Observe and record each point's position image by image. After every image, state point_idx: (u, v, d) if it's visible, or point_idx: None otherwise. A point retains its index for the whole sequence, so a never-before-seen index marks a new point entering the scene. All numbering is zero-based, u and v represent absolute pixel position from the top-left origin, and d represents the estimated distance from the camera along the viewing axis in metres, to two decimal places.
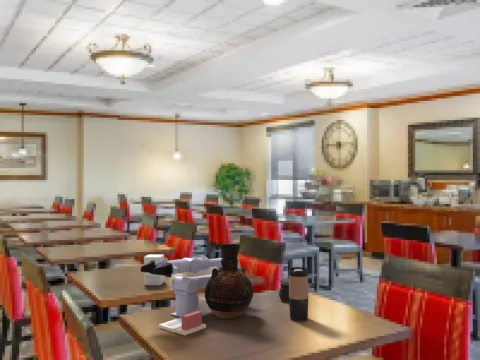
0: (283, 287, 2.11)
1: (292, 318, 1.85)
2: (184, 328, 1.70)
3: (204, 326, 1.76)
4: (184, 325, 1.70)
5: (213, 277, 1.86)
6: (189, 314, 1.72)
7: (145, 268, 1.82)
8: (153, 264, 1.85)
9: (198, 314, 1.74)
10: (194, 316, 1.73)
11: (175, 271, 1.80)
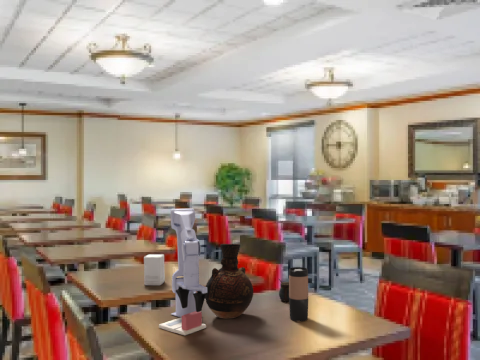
0: (283, 287, 2.11)
1: (292, 318, 1.85)
2: (184, 328, 1.70)
3: (204, 326, 1.76)
4: (184, 325, 1.70)
5: (213, 277, 1.86)
6: (189, 314, 1.72)
7: (184, 302, 1.76)
8: (182, 292, 1.75)
9: (198, 314, 1.74)
10: (194, 316, 1.73)
11: (206, 291, 1.69)
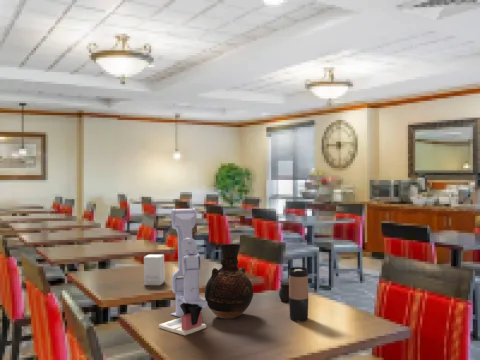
0: (283, 287, 2.11)
1: (292, 318, 1.85)
2: (184, 328, 1.70)
3: (204, 326, 1.76)
4: (184, 325, 1.70)
5: (213, 277, 1.86)
6: (189, 314, 1.72)
7: None
8: (186, 307, 1.73)
9: None
10: None
11: (206, 305, 1.69)
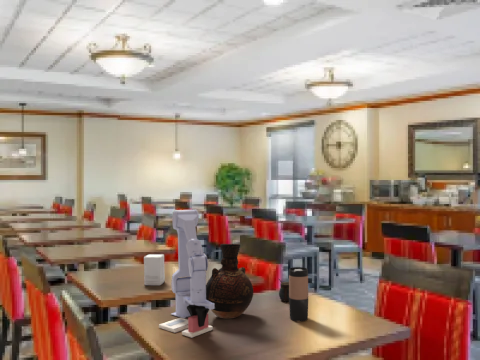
0: (283, 287, 2.11)
1: (292, 318, 1.85)
2: (191, 330, 1.68)
3: (211, 328, 1.73)
4: (191, 327, 1.68)
5: (213, 277, 1.86)
6: (196, 316, 1.70)
7: None
8: (193, 309, 1.71)
9: None
10: None
11: (213, 307, 1.67)
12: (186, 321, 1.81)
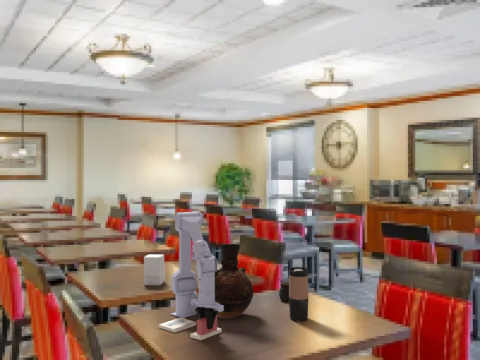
0: (283, 287, 2.11)
1: (292, 318, 1.85)
2: (199, 333, 1.65)
3: (220, 330, 1.71)
4: (199, 330, 1.65)
5: None
6: (204, 318, 1.67)
7: None
8: (201, 311, 1.68)
9: None
10: None
11: (222, 309, 1.64)
12: (186, 321, 1.81)
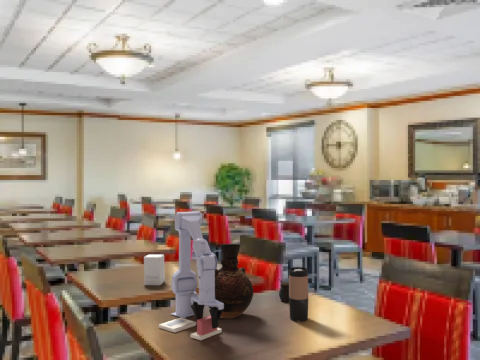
0: (283, 287, 2.11)
1: (292, 318, 1.85)
2: (200, 333, 1.65)
3: (220, 330, 1.71)
4: (200, 330, 1.65)
5: None
6: (205, 318, 1.67)
7: (200, 318, 1.71)
8: (197, 308, 1.70)
9: None
10: (210, 320, 1.68)
11: (222, 307, 1.64)
12: (186, 321, 1.81)
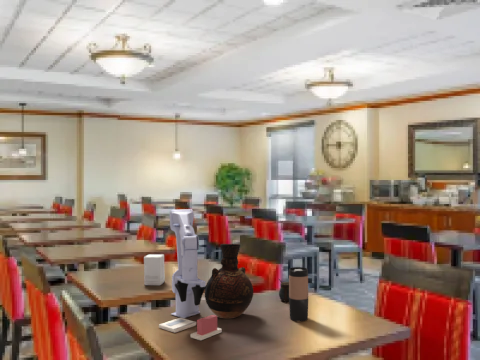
0: (283, 287, 2.11)
1: (292, 318, 1.85)
2: (200, 333, 1.65)
3: (220, 330, 1.71)
4: (200, 330, 1.65)
5: (213, 277, 1.86)
6: (205, 318, 1.67)
7: (183, 296, 1.79)
8: (180, 286, 1.78)
9: (214, 318, 1.69)
10: (210, 320, 1.68)
11: (204, 285, 1.72)
12: (186, 321, 1.81)
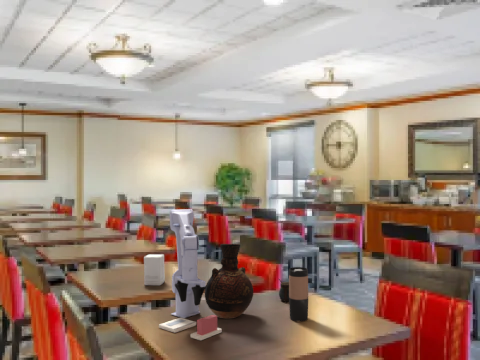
0: (283, 287, 2.11)
1: (292, 318, 1.85)
2: (200, 333, 1.65)
3: (220, 330, 1.71)
4: (200, 330, 1.65)
5: (213, 277, 1.86)
6: (205, 318, 1.67)
7: (183, 296, 1.79)
8: (180, 286, 1.78)
9: (214, 318, 1.69)
10: (210, 320, 1.68)
11: (204, 285, 1.72)
12: (186, 321, 1.81)
